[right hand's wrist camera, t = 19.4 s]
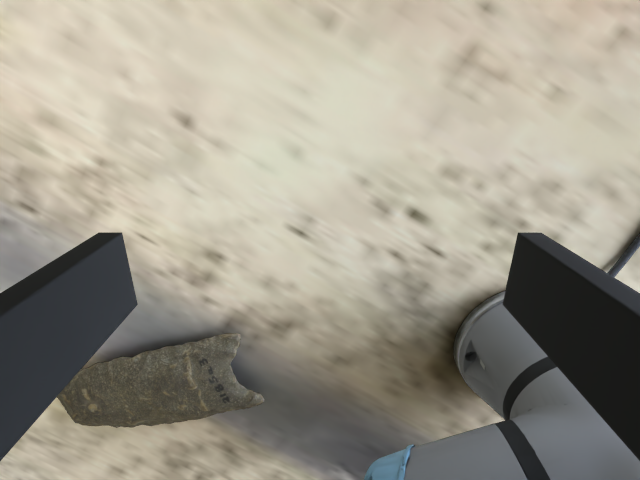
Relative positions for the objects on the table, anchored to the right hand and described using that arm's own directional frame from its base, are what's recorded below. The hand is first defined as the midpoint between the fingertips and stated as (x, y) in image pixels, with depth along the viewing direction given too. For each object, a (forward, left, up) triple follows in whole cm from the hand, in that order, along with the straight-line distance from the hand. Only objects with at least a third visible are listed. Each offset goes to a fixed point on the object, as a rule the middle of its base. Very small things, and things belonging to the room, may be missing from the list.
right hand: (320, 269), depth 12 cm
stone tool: (+33, +6, -24) cm, 41 cm away
